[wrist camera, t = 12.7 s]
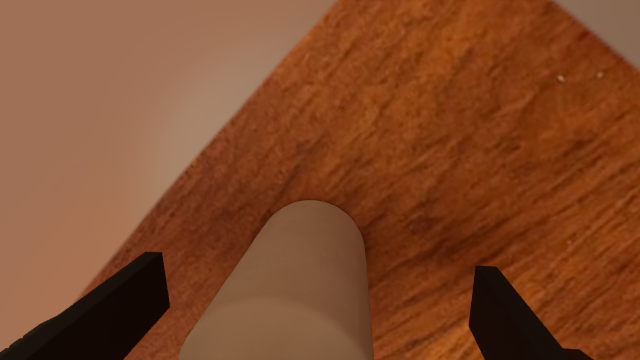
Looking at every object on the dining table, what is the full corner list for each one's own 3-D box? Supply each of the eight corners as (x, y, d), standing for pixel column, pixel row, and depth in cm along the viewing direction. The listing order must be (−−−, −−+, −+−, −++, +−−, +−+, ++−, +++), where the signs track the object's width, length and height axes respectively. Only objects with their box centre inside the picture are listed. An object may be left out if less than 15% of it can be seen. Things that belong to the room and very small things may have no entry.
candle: (240, 233, 17) (94, 411, 7) (324, 177, 16) (280, 303, 6) (301, 310, 18) (240, 560, 8) (385, 262, 17) (430, 491, 7)
